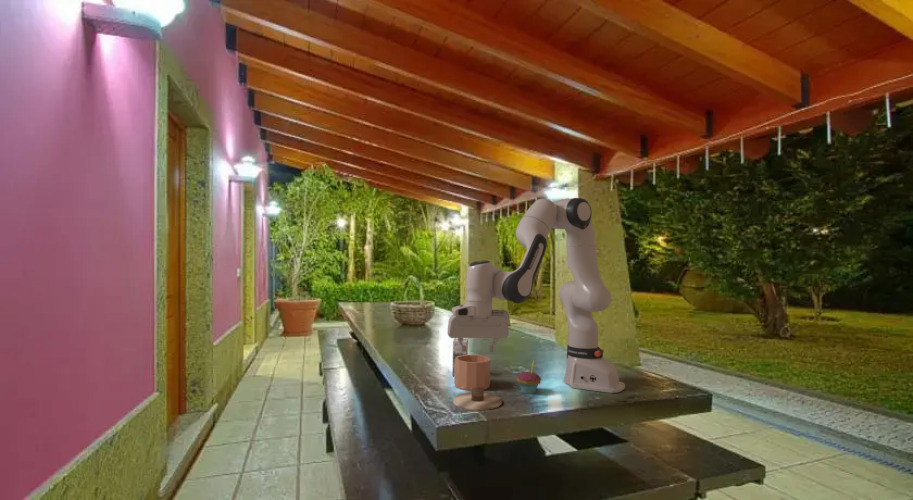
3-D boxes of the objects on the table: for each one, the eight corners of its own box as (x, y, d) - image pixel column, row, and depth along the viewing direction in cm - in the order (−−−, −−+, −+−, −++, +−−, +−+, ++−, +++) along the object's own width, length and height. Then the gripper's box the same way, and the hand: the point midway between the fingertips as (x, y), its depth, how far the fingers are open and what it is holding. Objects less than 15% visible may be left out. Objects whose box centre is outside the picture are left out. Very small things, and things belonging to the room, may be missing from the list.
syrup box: (467, 373, 188) (468, 338, 188) (466, 377, 182) (467, 340, 183) (453, 373, 189) (454, 337, 189) (452, 377, 183) (452, 340, 183)
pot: (496, 384, 173) (496, 358, 173) (477, 392, 162) (477, 364, 162) (467, 378, 180) (468, 353, 181) (447, 386, 170) (448, 359, 170)
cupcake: (542, 390, 167) (542, 356, 167) (538, 396, 159) (539, 362, 159) (518, 387, 170) (519, 354, 170) (513, 393, 162) (514, 359, 162)
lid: (510, 402, 154) (510, 388, 154) (485, 415, 141) (485, 399, 141) (470, 393, 163) (470, 379, 163) (443, 404, 150) (443, 390, 150)
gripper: (506, 308, 157) (505, 349, 157) (447, 308, 154) (446, 349, 154) (511, 310, 151) (510, 353, 151) (450, 310, 148) (448, 353, 148)
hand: (477, 351), depth 152 cm, fingers open, 8 cm apart
